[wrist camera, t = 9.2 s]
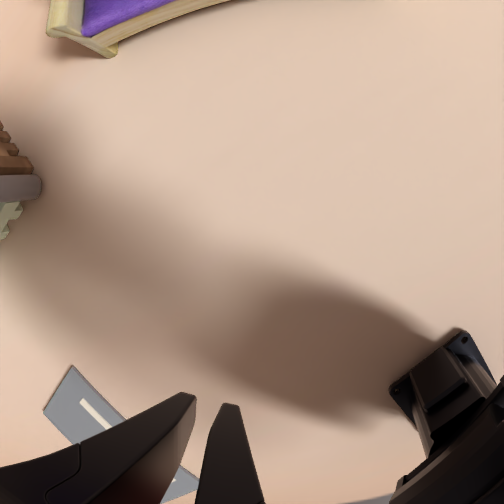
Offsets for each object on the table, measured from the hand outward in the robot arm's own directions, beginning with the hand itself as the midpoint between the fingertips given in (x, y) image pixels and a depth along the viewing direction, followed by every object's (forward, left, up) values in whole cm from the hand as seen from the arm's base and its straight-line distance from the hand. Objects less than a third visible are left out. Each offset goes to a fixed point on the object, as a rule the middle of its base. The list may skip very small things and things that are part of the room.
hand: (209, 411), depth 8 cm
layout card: (-3, +24, -12) cm, 27 cm away
